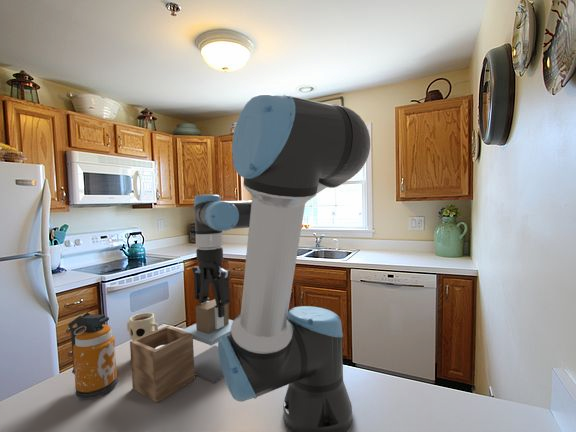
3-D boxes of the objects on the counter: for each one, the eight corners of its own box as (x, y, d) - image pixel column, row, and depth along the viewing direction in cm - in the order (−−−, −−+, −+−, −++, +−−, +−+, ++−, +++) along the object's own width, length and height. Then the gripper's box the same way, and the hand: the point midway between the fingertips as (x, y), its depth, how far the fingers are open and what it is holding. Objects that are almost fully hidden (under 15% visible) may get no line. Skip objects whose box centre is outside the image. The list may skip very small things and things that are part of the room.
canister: (97, 403, 71) (92, 322, 70) (60, 398, 73) (54, 319, 72) (125, 381, 80) (120, 308, 79) (90, 377, 82) (86, 307, 81)
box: (194, 379, 80) (192, 334, 79) (157, 403, 70) (154, 352, 70) (169, 367, 86) (167, 325, 85) (132, 388, 76) (129, 341, 76)
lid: (244, 331, 89) (243, 300, 89) (211, 350, 78) (210, 315, 78) (214, 322, 96) (213, 294, 96) (180, 338, 85) (179, 306, 85)
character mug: (120, 361, 90) (118, 320, 89) (137, 350, 97) (135, 311, 96) (151, 365, 87) (149, 322, 87) (166, 353, 94) (164, 313, 94)
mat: (249, 358, 89) (249, 357, 89) (214, 383, 77) (214, 381, 77) (214, 346, 97) (214, 345, 97) (178, 367, 86) (178, 365, 86)
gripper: (241, 247, 84) (244, 327, 85) (199, 244, 94) (202, 315, 95) (222, 251, 78) (225, 337, 79) (179, 247, 88) (182, 323, 89)
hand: (212, 325), depth 87 cm, fingers closed on lid, 5 cm apart
